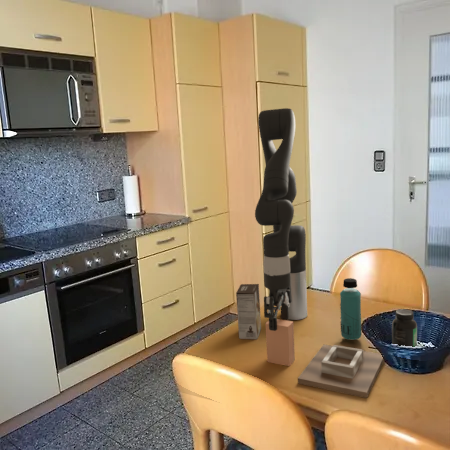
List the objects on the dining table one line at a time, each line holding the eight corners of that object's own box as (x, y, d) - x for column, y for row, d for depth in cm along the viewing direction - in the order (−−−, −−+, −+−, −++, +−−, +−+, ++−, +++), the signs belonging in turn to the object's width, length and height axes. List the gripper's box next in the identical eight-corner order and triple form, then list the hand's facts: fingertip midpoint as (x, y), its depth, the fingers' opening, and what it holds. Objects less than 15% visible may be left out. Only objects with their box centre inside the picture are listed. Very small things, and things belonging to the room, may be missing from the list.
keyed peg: (272, 355, 142) (271, 318, 140) (294, 360, 139) (293, 321, 136) (267, 361, 139) (265, 323, 136) (289, 366, 135) (288, 326, 133)
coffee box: (243, 327, 164) (240, 283, 161) (261, 328, 163) (259, 283, 160) (238, 339, 155) (235, 292, 152) (258, 339, 154) (255, 292, 151)
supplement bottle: (421, 353, 137) (422, 314, 135) (399, 356, 136) (399, 317, 134) (408, 343, 144) (409, 306, 142) (387, 346, 143) (387, 309, 141)
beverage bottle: (363, 337, 151) (362, 276, 147) (360, 346, 145) (359, 283, 141) (342, 334, 153) (341, 275, 150) (338, 343, 147) (337, 281, 144)
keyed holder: (323, 348, 144) (323, 335, 143) (384, 359, 135) (384, 344, 135) (297, 383, 126) (297, 367, 125) (366, 398, 117) (366, 381, 116)
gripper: (274, 262, 141) (277, 314, 144) (253, 276, 129) (256, 332, 132) (298, 264, 138) (300, 317, 140) (279, 278, 125) (281, 336, 128)
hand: (279, 324), depth 136 cm, fingers open, 8 cm apart
